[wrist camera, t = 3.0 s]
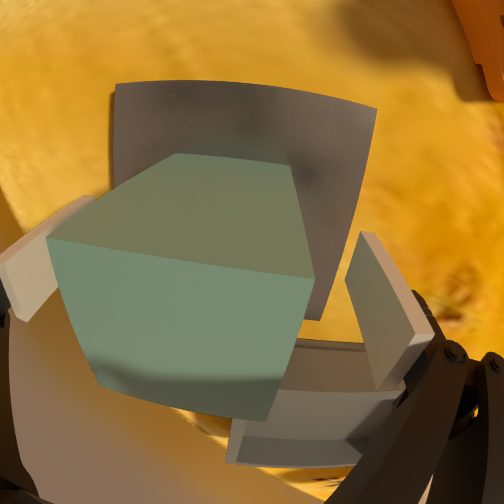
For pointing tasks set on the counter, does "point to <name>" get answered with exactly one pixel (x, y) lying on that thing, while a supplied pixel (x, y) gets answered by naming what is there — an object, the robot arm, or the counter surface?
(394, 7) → the counter surface
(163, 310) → the green rectangular block
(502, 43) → the bracket
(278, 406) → the bin
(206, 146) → the base
